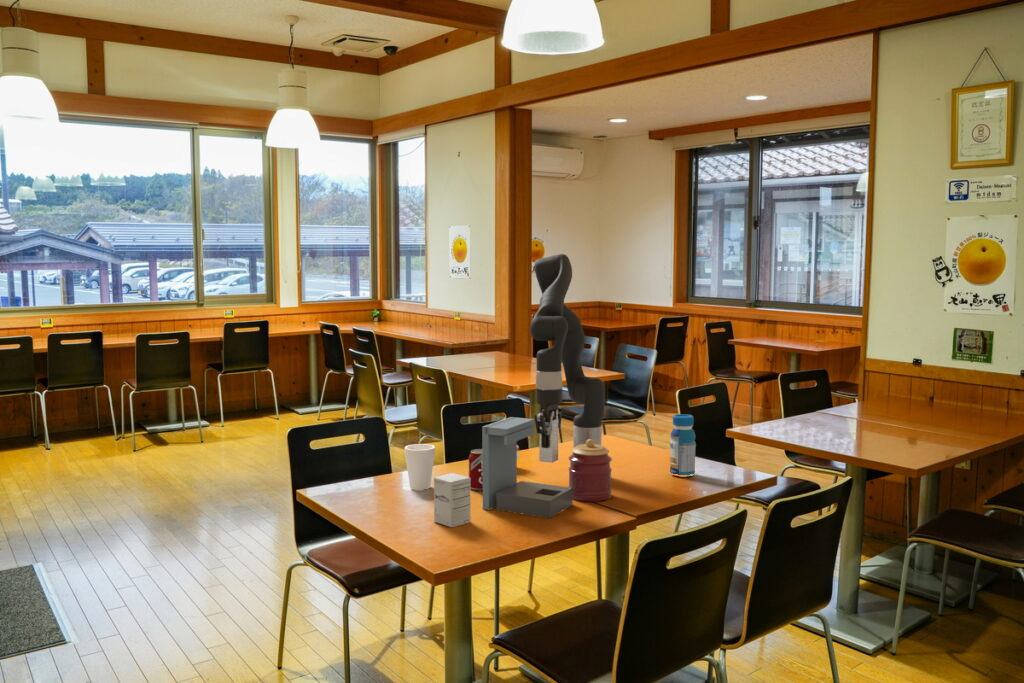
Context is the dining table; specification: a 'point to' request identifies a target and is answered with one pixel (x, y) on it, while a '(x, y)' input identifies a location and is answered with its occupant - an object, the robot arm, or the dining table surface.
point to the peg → (550, 444)
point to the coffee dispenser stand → (501, 455)
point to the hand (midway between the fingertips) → (548, 445)
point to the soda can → (476, 469)
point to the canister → (590, 472)
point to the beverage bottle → (682, 445)
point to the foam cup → (419, 465)
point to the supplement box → (452, 499)
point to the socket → (534, 499)
